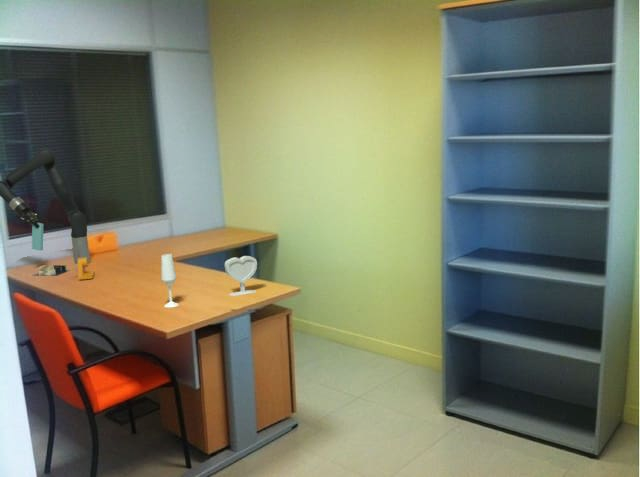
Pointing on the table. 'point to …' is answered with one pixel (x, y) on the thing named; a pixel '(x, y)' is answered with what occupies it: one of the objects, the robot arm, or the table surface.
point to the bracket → (81, 269)
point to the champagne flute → (168, 275)
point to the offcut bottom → (47, 272)
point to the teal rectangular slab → (37, 237)
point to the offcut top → (46, 268)
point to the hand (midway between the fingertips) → (39, 226)
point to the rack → (56, 270)
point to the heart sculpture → (241, 271)
